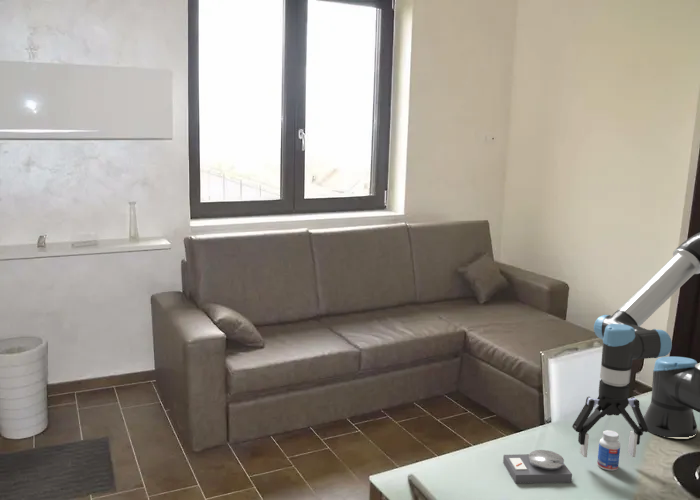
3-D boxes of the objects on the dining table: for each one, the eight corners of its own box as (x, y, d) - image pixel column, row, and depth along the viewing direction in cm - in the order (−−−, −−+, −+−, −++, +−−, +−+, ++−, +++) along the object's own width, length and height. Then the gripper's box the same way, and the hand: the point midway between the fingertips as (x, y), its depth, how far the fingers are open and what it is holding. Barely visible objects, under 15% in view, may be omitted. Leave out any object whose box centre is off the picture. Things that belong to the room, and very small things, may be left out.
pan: (556, 453, 176) (556, 449, 176) (568, 469, 167) (569, 465, 167) (524, 453, 176) (524, 450, 175) (535, 470, 167) (535, 466, 167)
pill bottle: (608, 473, 172) (611, 439, 170) (592, 464, 177) (595, 431, 175) (622, 468, 174) (625, 435, 173) (606, 459, 179) (609, 427, 177)
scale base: (555, 461, 178) (556, 451, 177) (571, 482, 167) (572, 471, 166) (503, 462, 177) (503, 452, 176) (515, 483, 166) (516, 472, 165)
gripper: (652, 376, 176) (644, 448, 179) (564, 376, 174) (558, 448, 178) (666, 386, 168) (658, 461, 172) (575, 386, 167) (568, 461, 170)
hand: (607, 455), depth 175 cm, fingers open, 13 cm apart
